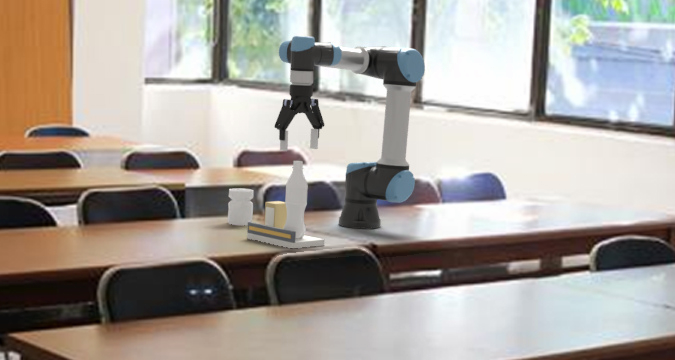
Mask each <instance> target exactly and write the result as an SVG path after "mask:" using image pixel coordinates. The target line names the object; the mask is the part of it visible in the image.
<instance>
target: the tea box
mask: <svg viewBox="0 0 675 360" xmlns="http://www.w3.org/2000/svg"><path fill="white" fill-rule="evenodd" d="M286 219H287V208H286V204H285V201H281V200H274V201H265V205H264V224H263V225H267V226H271V227H276V228H281V229H284V226H285V223H286Z"/></svg>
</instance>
